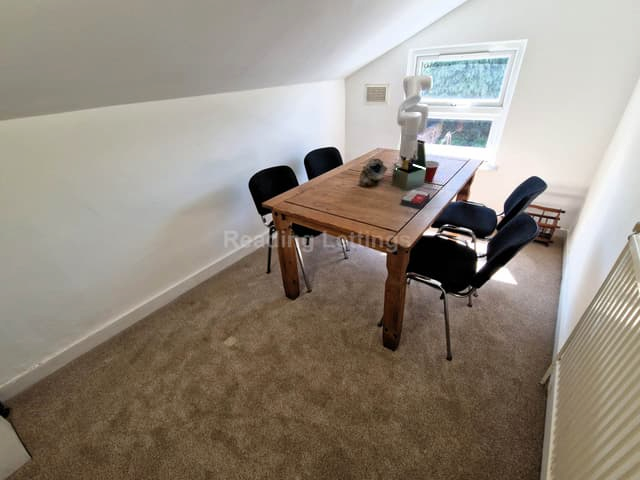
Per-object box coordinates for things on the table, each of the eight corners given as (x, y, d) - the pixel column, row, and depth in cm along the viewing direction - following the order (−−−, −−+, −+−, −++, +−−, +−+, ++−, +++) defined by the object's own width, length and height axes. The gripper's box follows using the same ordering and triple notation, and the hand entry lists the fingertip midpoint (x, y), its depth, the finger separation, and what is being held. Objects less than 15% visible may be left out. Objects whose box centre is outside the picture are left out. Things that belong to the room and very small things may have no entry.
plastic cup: (418, 182, 186) (420, 164, 180) (420, 177, 194) (423, 159, 188) (435, 184, 182) (438, 166, 175) (437, 179, 190) (440, 161, 184)
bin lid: (423, 144, 166) (429, 140, 167) (407, 140, 175) (413, 136, 176) (425, 168, 176) (431, 164, 177) (410, 163, 186) (416, 159, 187)
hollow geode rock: (379, 180, 205) (367, 163, 205) (393, 170, 196) (380, 153, 196) (361, 193, 186) (348, 174, 185) (375, 182, 176) (361, 163, 176)
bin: (406, 190, 176) (408, 174, 170) (391, 184, 185) (393, 168, 179) (423, 185, 182) (426, 168, 177) (409, 179, 192) (411, 163, 186)
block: (401, 167, 177) (402, 160, 175) (406, 166, 179) (407, 159, 177) (406, 169, 174) (407, 162, 171) (412, 168, 176) (413, 161, 173)
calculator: (401, 198, 158) (411, 188, 167) (400, 205, 160) (411, 195, 170) (420, 203, 152) (430, 192, 162) (419, 210, 154) (429, 198, 164)
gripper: (395, 136, 171) (392, 165, 181) (417, 141, 159) (412, 172, 169) (404, 134, 174) (401, 163, 184) (426, 139, 162) (421, 170, 172)
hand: (406, 167), depth 176 cm, fingers closed on block, 4 cm apart
